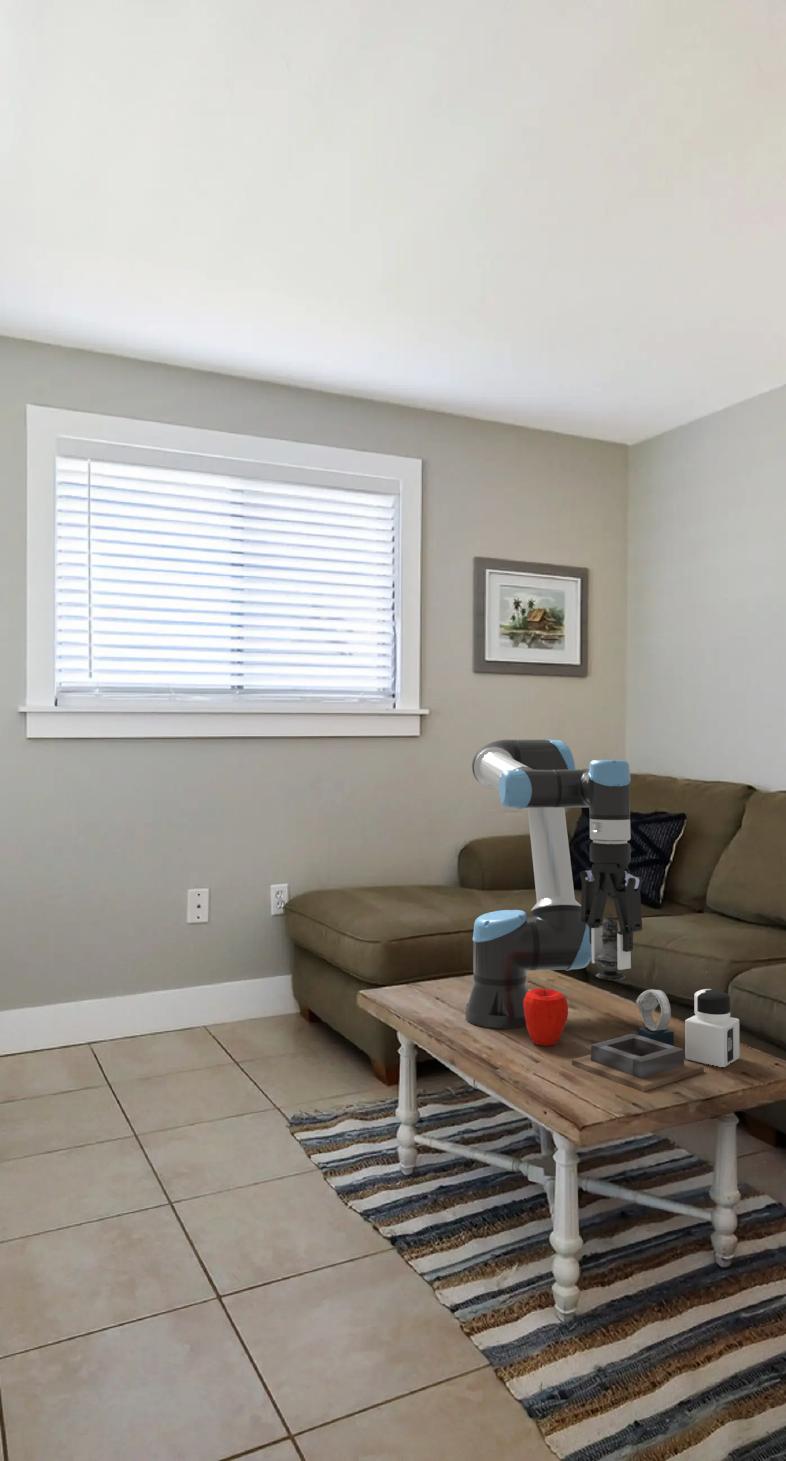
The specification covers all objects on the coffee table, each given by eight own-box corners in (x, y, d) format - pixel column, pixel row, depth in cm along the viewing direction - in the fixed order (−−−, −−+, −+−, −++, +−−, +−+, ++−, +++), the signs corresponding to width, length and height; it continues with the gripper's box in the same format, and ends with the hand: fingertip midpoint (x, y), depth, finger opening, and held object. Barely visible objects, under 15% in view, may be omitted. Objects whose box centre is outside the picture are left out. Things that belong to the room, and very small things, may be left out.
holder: (571, 1065, 180) (571, 1044, 180) (631, 1048, 190) (631, 1028, 190) (643, 1091, 166) (643, 1068, 166) (703, 1072, 176) (703, 1050, 176)
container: (740, 1058, 184) (739, 991, 184) (723, 1069, 178) (723, 999, 178) (701, 1050, 189) (701, 984, 189) (684, 1060, 183) (684, 992, 184)
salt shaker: (591, 978, 177) (590, 913, 177) (598, 972, 182) (598, 909, 183) (623, 981, 175) (622, 915, 175) (629, 974, 180) (629, 911, 180)
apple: (574, 1041, 195) (573, 988, 195) (557, 1052, 187) (557, 997, 188) (533, 1034, 200) (533, 982, 200) (516, 1045, 192) (516, 991, 192)
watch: (656, 1038, 197) (656, 984, 197) (678, 1050, 189) (678, 994, 189) (632, 1040, 195) (632, 986, 195) (654, 1052, 188) (654, 996, 188)
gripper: (560, 839, 185) (561, 959, 184) (634, 846, 169) (635, 977, 169) (588, 837, 189) (588, 954, 188) (662, 844, 173) (664, 972, 173)
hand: (610, 965), depth 179 cm, fingers closed on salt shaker, 6 cm apart
